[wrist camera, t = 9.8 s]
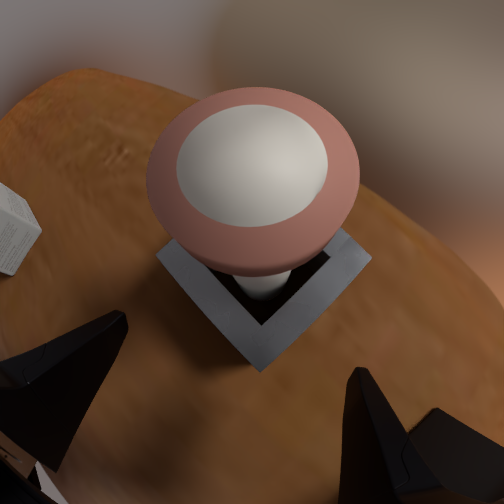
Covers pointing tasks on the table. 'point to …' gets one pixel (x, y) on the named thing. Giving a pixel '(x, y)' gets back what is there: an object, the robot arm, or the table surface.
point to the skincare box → (15, 230)
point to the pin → (253, 184)
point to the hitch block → (287, 317)
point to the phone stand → (461, 457)
